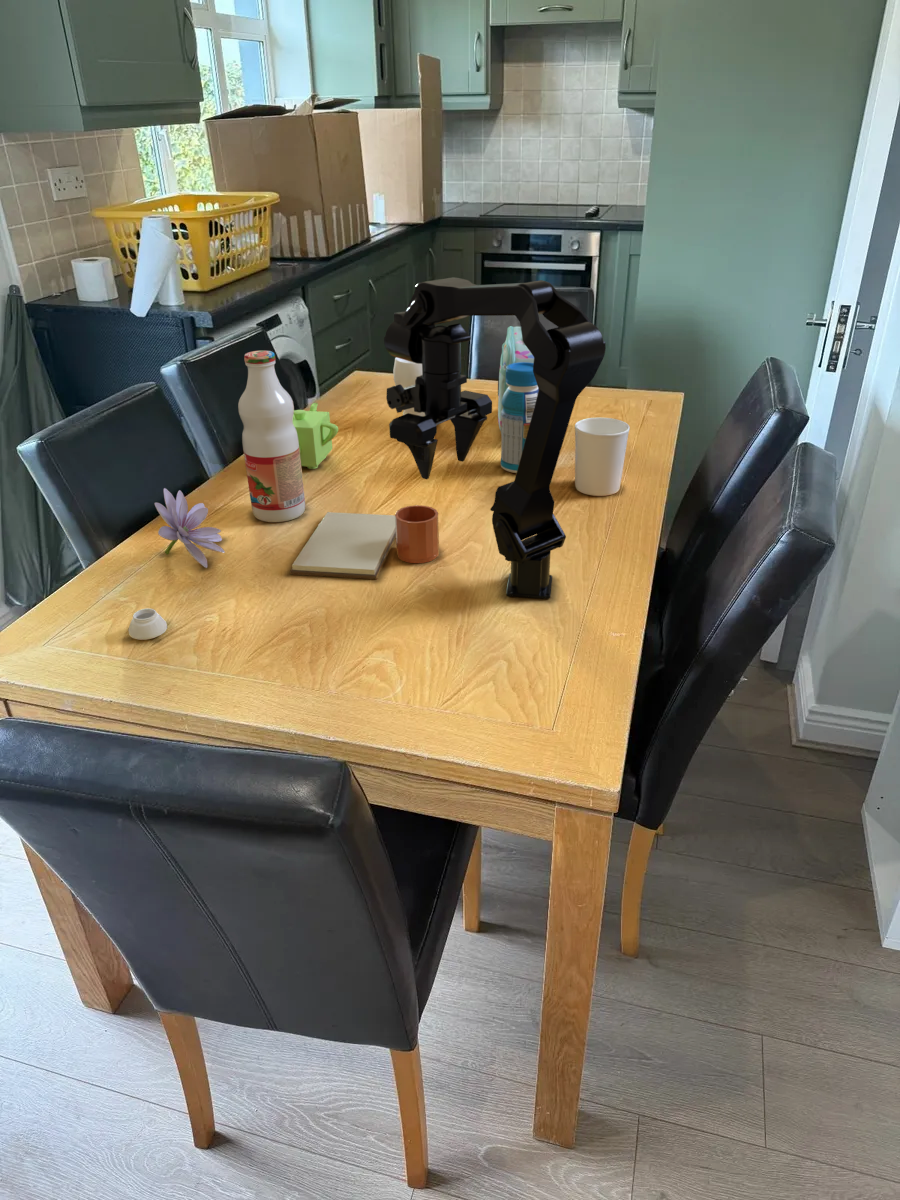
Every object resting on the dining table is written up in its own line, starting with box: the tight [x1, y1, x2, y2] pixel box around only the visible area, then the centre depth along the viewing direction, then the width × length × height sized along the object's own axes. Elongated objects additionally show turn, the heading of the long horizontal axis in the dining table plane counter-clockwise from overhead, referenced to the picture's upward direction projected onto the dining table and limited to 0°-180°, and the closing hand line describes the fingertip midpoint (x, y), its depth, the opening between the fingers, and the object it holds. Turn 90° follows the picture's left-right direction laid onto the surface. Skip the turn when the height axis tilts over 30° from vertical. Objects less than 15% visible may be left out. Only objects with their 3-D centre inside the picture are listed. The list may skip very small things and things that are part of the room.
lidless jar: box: [127, 607, 168, 641], centre depth 115 cm, size 5×3×5 cm
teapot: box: [293, 402, 339, 470], centre depth 169 cm, size 15×13×11 cm
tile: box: [289, 511, 396, 580], centre depth 137 cm, size 21×14×2 cm, turn 171°
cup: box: [392, 357, 426, 416], centre depth 188 cm, size 11×11×15 cm
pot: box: [394, 504, 440, 564], centre depth 134 cm, size 7×7×7 cm
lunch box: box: [497, 325, 534, 435], centre depth 184 cm, size 27×10×21 cm, turn 178°
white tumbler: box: [574, 416, 631, 497], centre depth 155 cm, size 10×10×12 cm
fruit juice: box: [237, 350, 306, 523], centre depth 143 cm, size 9×9×28 cm
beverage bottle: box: [500, 362, 539, 474], centre depth 163 cm, size 8×8×20 cm
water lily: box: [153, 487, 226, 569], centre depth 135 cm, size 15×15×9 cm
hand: (443, 469), depth 132 cm, fingers open, 9 cm apart
